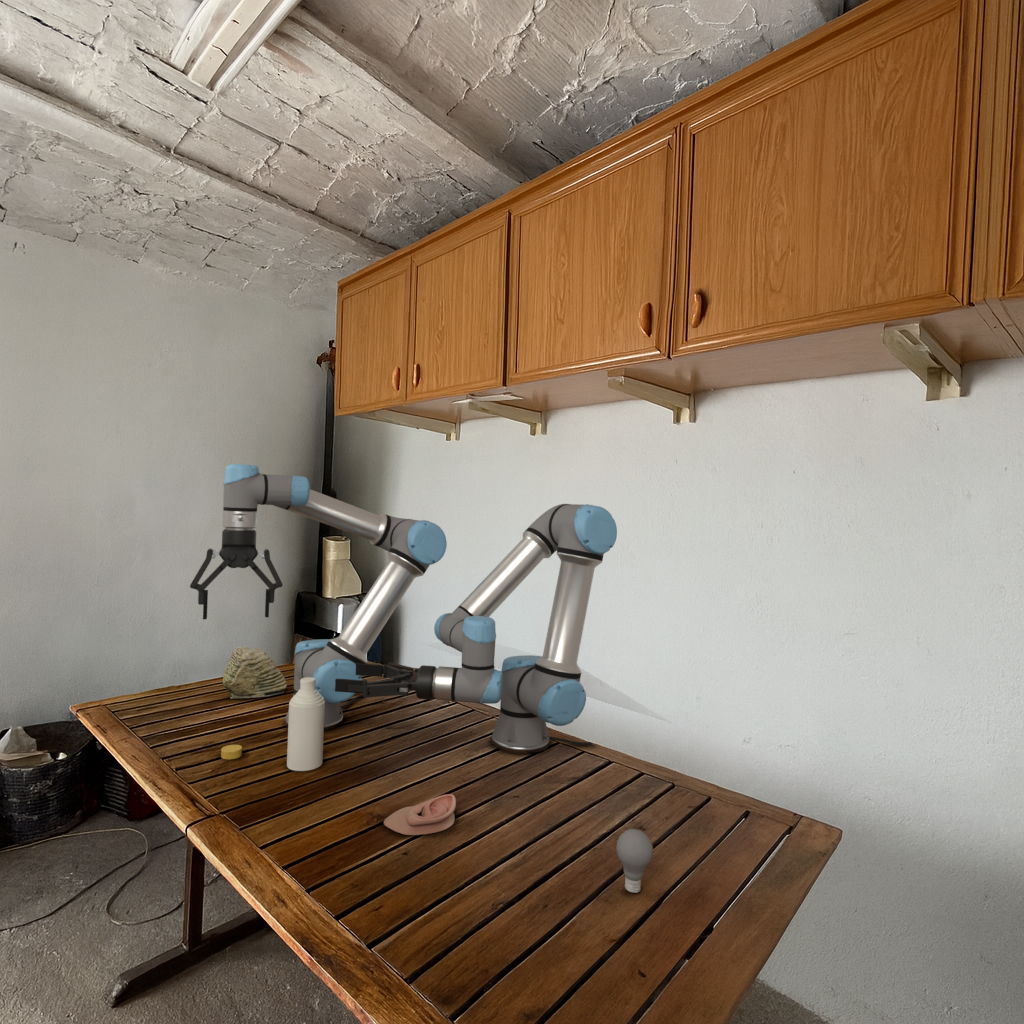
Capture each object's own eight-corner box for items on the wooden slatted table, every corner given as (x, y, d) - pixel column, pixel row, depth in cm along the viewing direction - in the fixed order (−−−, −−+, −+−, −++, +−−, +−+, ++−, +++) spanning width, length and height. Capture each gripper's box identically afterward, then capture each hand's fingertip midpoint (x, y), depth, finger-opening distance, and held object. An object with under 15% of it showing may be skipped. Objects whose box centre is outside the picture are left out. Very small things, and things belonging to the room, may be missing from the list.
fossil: (218, 695, 195) (220, 647, 195) (278, 685, 208) (279, 640, 207) (228, 703, 189) (230, 653, 188) (289, 692, 201) (290, 645, 201)
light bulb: (610, 879, 108) (613, 822, 108) (644, 879, 109) (647, 822, 109) (619, 902, 102) (622, 840, 102) (655, 901, 103) (658, 840, 103)
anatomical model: (377, 810, 121) (400, 784, 132) (376, 830, 121) (399, 803, 132) (444, 820, 118) (461, 792, 129) (443, 841, 118) (460, 812, 129)
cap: (240, 758, 151) (240, 751, 151) (219, 760, 150) (219, 752, 150) (243, 751, 155) (243, 744, 155) (222, 752, 154) (223, 745, 154)
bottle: (279, 766, 148) (282, 680, 147) (303, 754, 155) (306, 672, 154) (306, 773, 144) (309, 686, 144) (329, 761, 152) (332, 677, 151)
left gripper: (179, 528, 143) (176, 622, 143) (295, 531, 153) (292, 618, 153) (182, 526, 150) (179, 616, 150) (293, 529, 160) (290, 612, 160)
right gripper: (422, 717, 134) (325, 709, 136) (445, 683, 159) (363, 677, 161) (423, 682, 134) (326, 675, 136) (446, 653, 159) (364, 648, 161)
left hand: (236, 617), depth 152 cm, fingers open, 13 cm apart
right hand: (346, 676), depth 148 cm, fingers open, 13 cm apart
